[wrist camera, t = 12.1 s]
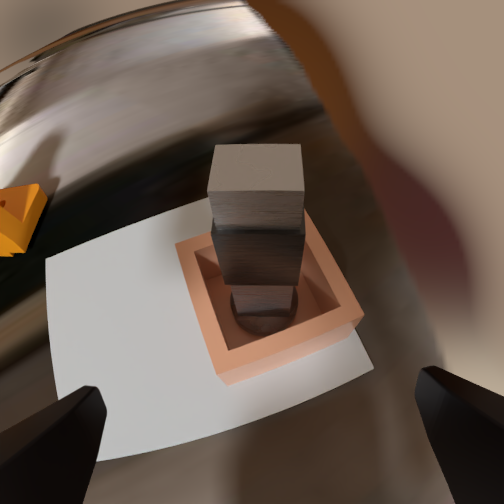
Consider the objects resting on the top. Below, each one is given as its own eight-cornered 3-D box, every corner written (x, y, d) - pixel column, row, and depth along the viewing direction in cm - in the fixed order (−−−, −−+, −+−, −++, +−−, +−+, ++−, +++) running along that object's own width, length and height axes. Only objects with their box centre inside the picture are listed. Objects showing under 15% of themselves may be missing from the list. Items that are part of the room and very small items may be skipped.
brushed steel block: (297, 336, 20) (325, 215, 10) (229, 335, 21) (184, 214, 10) (296, 276, 23) (313, 129, 12) (233, 275, 23) (203, 130, 12)
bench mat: (372, 369, 20) (374, 368, 19) (77, 464, 17) (74, 464, 16) (271, 180, 29) (271, 177, 28) (48, 261, 26) (45, 259, 25)
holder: (347, 337, 21) (364, 314, 17) (227, 386, 20) (216, 374, 16) (296, 238, 25) (300, 201, 21) (190, 276, 24) (174, 243, 20)
